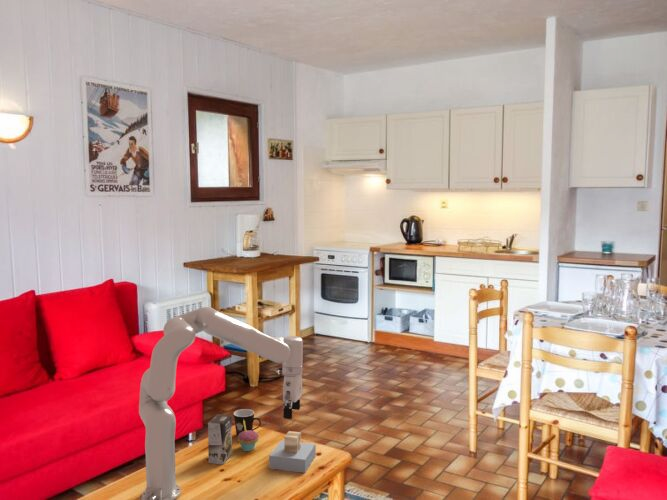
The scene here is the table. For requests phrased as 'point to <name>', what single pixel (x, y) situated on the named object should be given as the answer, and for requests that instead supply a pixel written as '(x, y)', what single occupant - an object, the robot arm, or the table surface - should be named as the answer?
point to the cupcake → (247, 439)
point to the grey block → (292, 458)
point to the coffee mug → (248, 418)
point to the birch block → (292, 442)
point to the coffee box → (220, 438)
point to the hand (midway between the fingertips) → (291, 413)
